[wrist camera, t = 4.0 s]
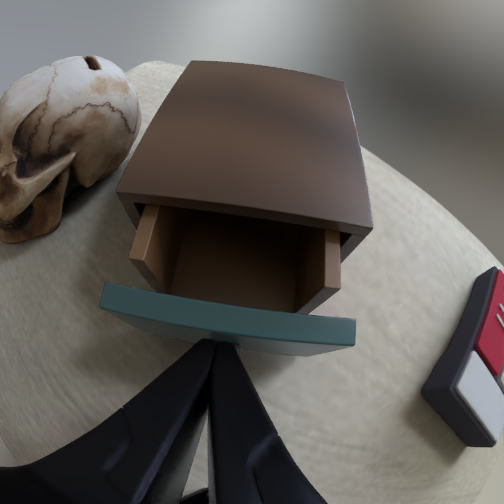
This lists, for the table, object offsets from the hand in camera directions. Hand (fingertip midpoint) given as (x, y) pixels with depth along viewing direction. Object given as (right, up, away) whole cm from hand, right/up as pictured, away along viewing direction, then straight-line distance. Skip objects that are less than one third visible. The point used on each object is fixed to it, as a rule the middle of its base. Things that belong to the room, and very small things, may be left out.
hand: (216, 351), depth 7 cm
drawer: (0, +2, +12) cm, 12 cm away
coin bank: (-18, +10, +15) cm, 26 cm away
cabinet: (+1, +7, +16) cm, 17 cm away
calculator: (+24, -8, +11) cm, 27 cm away
